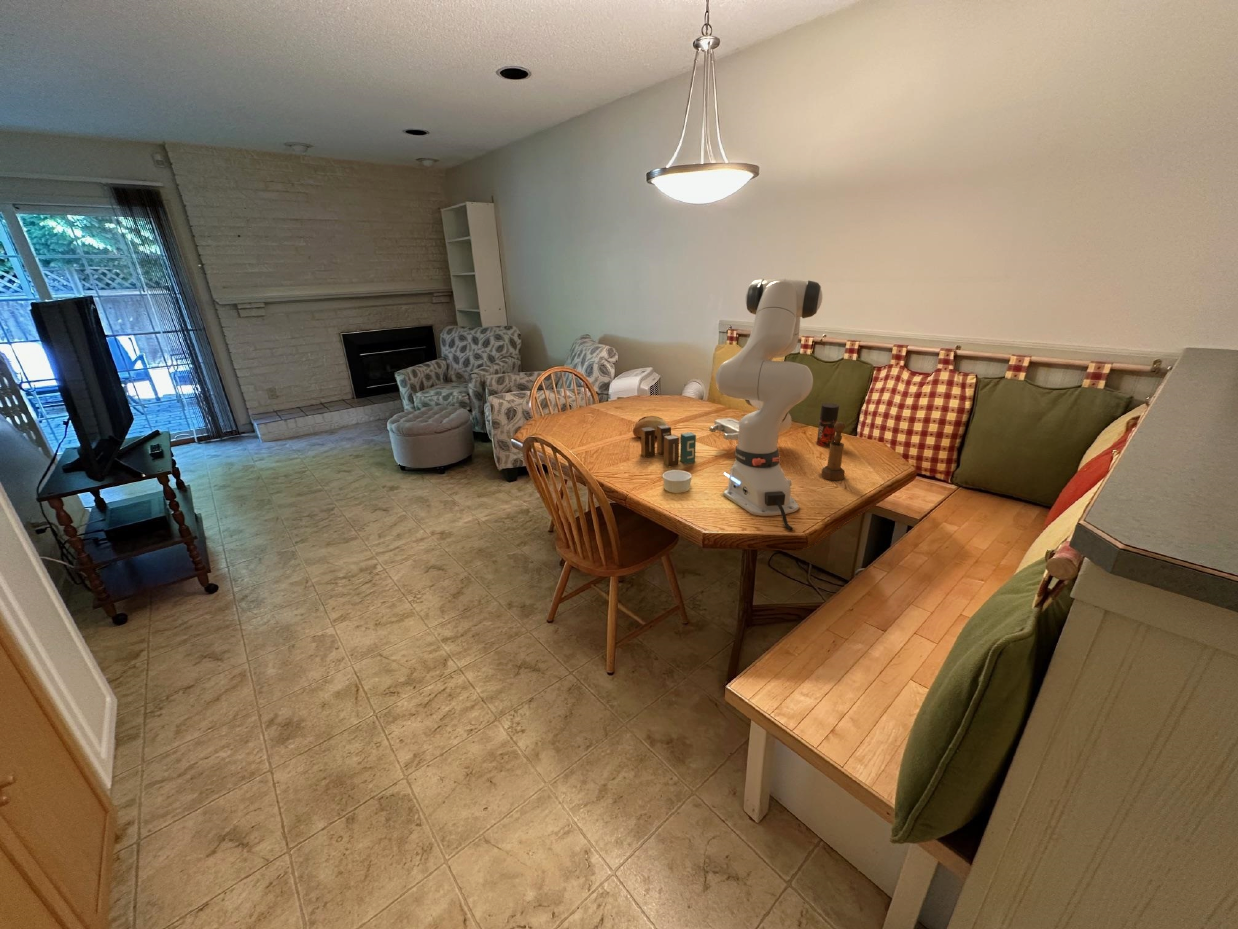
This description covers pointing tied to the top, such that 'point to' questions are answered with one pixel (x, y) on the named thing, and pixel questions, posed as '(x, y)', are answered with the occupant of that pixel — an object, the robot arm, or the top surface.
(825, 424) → the deodorant
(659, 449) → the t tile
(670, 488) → the ramekin
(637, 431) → the bread roll
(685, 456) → the s tile
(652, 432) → the tile
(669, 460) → the tile
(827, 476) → the brown wooden tall figure
